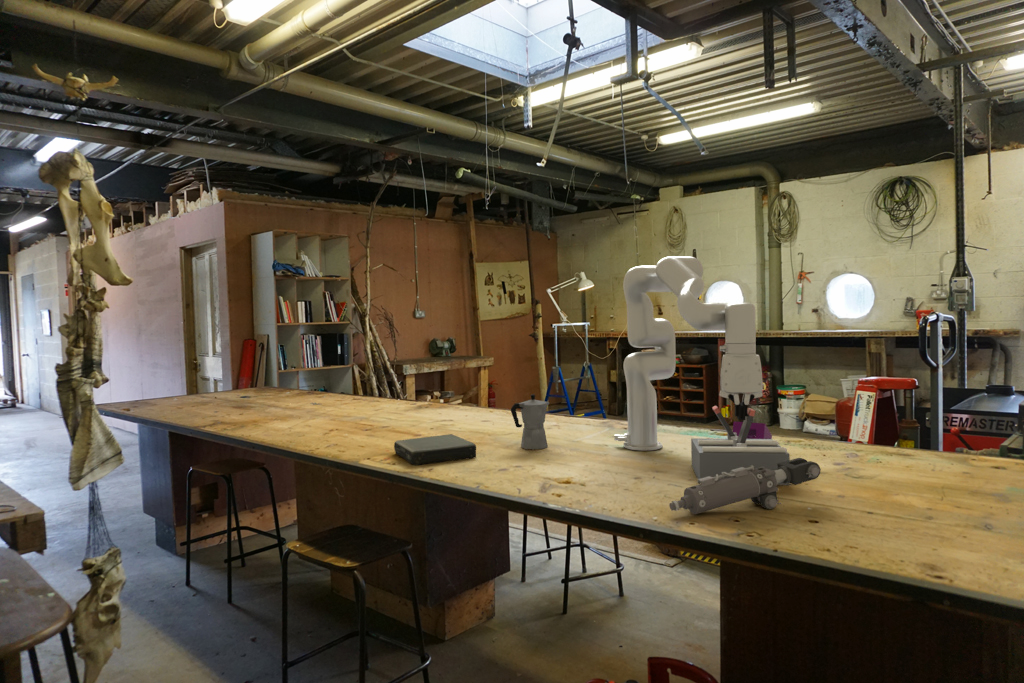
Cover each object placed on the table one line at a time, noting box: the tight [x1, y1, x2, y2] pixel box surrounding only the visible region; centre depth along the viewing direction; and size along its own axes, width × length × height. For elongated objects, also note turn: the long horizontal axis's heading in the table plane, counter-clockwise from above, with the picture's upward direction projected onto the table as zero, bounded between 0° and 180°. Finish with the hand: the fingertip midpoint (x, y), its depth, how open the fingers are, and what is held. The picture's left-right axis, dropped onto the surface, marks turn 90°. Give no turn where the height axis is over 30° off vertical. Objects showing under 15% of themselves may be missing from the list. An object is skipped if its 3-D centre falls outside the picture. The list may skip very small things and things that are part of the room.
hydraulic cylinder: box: [668, 457, 822, 515], centre depth 142 cm, size 7×37×10 cm, turn 103°
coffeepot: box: [510, 393, 550, 451], centre depth 212 cm, size 15×9×18 cm, turn 122°
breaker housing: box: [690, 405, 791, 486], centre depth 170 cm, size 22×19×18 cm
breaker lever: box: [736, 407, 756, 445], centre depth 165 cm, size 1×4×11 cm, turn 170°
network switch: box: [393, 433, 477, 466], centre depth 204 cm, size 23×24×5 cm
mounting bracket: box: [732, 421, 773, 440], centre depth 202 cm, size 10×8×18 cm
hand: (741, 419), depth 166 cm, fingers closed
